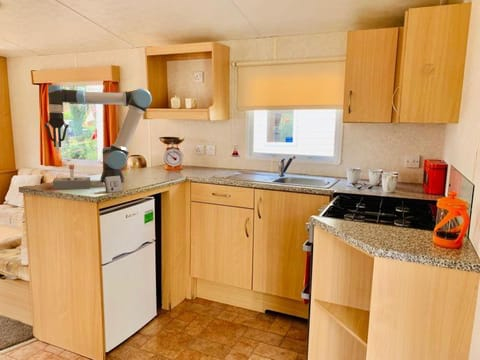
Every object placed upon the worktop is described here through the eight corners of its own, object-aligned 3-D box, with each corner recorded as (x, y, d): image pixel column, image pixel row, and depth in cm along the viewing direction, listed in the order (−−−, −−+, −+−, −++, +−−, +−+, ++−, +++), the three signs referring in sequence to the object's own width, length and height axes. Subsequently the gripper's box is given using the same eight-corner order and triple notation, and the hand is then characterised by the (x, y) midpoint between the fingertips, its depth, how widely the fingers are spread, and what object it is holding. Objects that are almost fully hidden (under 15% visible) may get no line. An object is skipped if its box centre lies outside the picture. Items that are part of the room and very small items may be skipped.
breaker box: (90, 185, 231) (89, 176, 230) (90, 188, 219) (90, 180, 218) (55, 186, 223) (54, 177, 222) (53, 189, 211) (52, 181, 210)
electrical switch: (108, 193, 206) (107, 177, 205) (103, 193, 209) (102, 177, 208) (122, 191, 213) (121, 175, 212) (117, 191, 216) (116, 175, 216)
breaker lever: (74, 180, 224) (74, 164, 222) (74, 181, 218) (73, 165, 217) (70, 180, 223) (69, 164, 221) (69, 182, 217) (68, 165, 216)
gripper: (42, 111, 207) (44, 153, 210) (68, 112, 212) (69, 153, 215) (44, 111, 213) (46, 152, 217) (68, 112, 218) (70, 152, 222)
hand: (57, 152), depth 216 cm, fingers closed
